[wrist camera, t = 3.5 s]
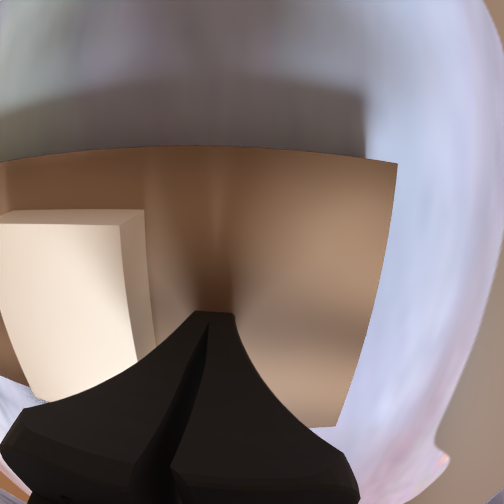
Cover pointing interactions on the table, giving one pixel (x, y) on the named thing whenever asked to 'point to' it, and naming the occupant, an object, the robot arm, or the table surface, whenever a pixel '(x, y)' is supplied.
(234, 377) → the robot arm
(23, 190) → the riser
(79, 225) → the tile
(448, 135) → the table surface
